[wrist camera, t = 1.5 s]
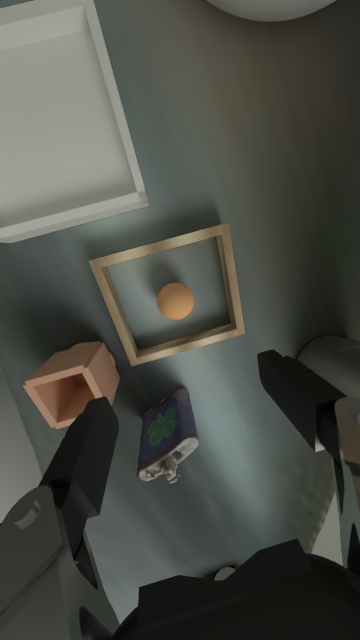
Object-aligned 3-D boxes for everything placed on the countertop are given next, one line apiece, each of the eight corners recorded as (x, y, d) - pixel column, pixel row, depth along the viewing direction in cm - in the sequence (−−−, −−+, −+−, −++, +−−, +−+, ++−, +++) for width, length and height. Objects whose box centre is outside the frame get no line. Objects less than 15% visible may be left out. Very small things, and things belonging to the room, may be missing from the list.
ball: (186, 276, 24) (192, 280, 20) (193, 308, 26) (201, 318, 21) (152, 285, 24) (151, 292, 20) (162, 317, 25) (163, 329, 21)
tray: (100, 29, 16) (89, -13, 14) (148, 206, 21) (147, 199, 19) (-80, 73, 16) (-125, 38, 13) (10, 243, 21) (-10, 241, 18)
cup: (105, 335, 25) (86, 362, 19) (123, 376, 28) (112, 413, 21) (55, 349, 25) (19, 382, 19) (77, 389, 28) (52, 431, 21)
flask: (182, 383, 29) (194, 449, 19) (193, 394, 30) (210, 462, 20) (139, 416, 31) (129, 494, 20) (151, 425, 32) (147, 505, 21)
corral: (222, 225, 23) (228, 222, 21) (238, 327, 27) (245, 333, 25) (94, 260, 22) (88, 260, 20) (133, 357, 27) (131, 366, 25)
